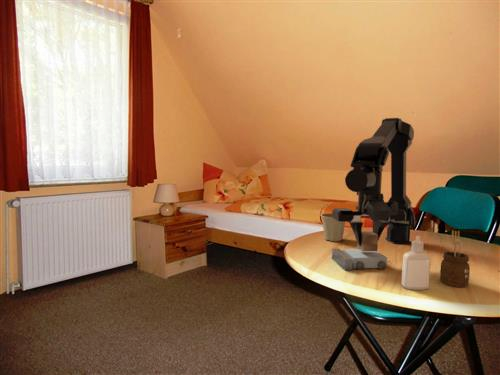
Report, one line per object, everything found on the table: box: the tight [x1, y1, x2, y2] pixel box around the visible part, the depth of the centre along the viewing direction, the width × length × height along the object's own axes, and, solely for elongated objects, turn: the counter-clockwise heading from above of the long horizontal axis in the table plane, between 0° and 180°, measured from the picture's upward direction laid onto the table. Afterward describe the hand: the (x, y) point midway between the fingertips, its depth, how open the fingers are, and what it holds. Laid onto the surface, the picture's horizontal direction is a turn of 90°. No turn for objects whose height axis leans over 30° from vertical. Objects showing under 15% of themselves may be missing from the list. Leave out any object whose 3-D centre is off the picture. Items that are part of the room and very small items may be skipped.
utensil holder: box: [439, 230, 471, 288], centre depth 83 cm, size 6×6×12 cm
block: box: [356, 230, 379, 252], centre depth 96 cm, size 4×4×4 cm
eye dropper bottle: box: [401, 235, 431, 291], centre depth 80 cm, size 4×6×12 cm
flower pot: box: [320, 212, 346, 242], centre depth 123 cm, size 9×9×9 cm
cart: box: [342, 248, 388, 270], centre depth 96 cm, size 9×10×3 cm
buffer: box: [331, 248, 353, 271], centre depth 96 cm, size 2×10×3 cm, turn 6°
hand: (367, 245), depth 96 cm, fingers closed on block, 4 cm apart
